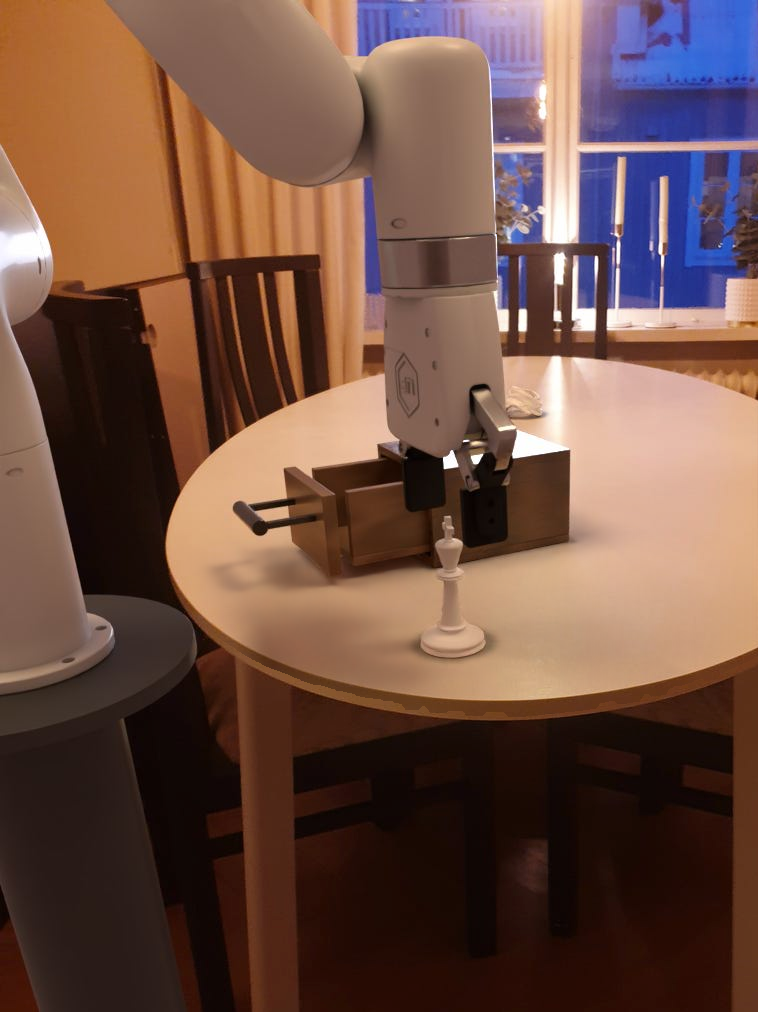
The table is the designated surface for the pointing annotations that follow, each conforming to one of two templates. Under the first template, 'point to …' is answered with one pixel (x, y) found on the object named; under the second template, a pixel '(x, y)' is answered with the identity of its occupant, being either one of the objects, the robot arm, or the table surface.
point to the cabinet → (509, 499)
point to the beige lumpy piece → (524, 401)
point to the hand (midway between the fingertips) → (454, 525)
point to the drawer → (346, 514)
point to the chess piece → (451, 606)
